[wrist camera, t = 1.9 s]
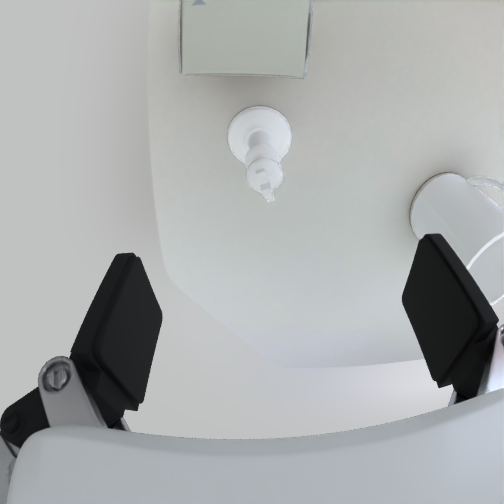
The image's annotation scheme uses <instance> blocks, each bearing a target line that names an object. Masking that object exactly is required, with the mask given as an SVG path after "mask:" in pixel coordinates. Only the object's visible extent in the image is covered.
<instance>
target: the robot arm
mask: <svg viewBox="0 0 504 504" xmlns="http://www.w3.org/2000/svg"><path fill="white" fill-rule="evenodd" d="M402 303H403V306H404V308H405V311H406V313H407V315H408V318H409V320H410V322H411V325H412V327H413V330H414V332H415V335H416V337H417V340H418V342H419V345H420V347H421V350H422V352H423V355H424V358H425V360H426V363H427V366H428V369H429V371H430V374H431V377H432V379H433V380H434V381H436V382H437V385H438V388H441V387H445V386H448V385H451V384H452V385H453V388H454V390H453V393H452V396H451V399H450V402H449V405H448V407H445V408H442V409H438V410H435V411H432V412H428V413H425V414H421V415H418V416H414V417H410V418H407V419H403V420H398V421H394V422H390V423H386V424H381V425H376V426H371V427H366V428H360V429H354V430H349V431H342V432H336V433H328V434H320V435H311V436H301V437H291V438H290V437H289V438H275V439H274V438H273V439H199V438H184V437H172V436H161V435H152V434H144V433H136V432H131V430H130V429H129V427H128V425H127V423H126V421H125V420H124V418H123V415H124V411H125V410H133V411H138V406H139V403H140V404H141V403H142V402H143V401H144V397H145V392H146V387H147V382H148V378H149V374H150V368H151V365H152V360H153V356H154V352H155V348H156V343H157V340H158V335H159V332H160V327H161V324H162V311H161V309H160V306H159V304H158V301H157V299H156V297H155V294H154V292H153V289H152V287H151V285H150V282H149V279H148V277H147V274H146V272H145V269H144V267H143V264H142V261H141V259H140V258H139V257H136V255H135V254H134V253H122V254H117V255H116V256H115V258H114V260H113V261H112V263H111V265H110V267H109V269H108V271H107V273H106V275H105V277H104V279H103V281H102V283H101V285H100V287H99V289H98V291H97V293H96V295H95V297H94V300H93V301H92V303H91V305H90V308H89V310H88V312H87V314H86V316H85V318H84V321H83V323H82V325H81V328H80V330H79V332H78V335H77V337H76V339H75V342H74V344H73V346H72V349H71V355H70V357H69V358H68V357H64V356H57V357H54V358H52V359H50V360H49V361H48V362H46V364H45V365H44V366H43V367H42V369H41V371H40V373H39V377H38V387H37V388H36V389H34V390H33V391H31V392H30V393H28V394H27V395H25V396H24V397H22V398H21V399H19V400H18V401H16V402H15V403H14V404H12V405H10V406H9V407H8V408H7V409H6V410H5V411H4V413H3V415H2V417H1V420H0V429H1V431H0V504H504V324H503V325H501V326H500V327H499V328H498V327H497V325H496V324H497V323H498V321H499V319H498V317H497V316H496V314H495V312H494V310H493V309H492V307H491V305H490V304H489V302H488V300H487V299H486V297H485V296H484V294H483V292H482V291H481V289H480V288H479V286H478V285H477V283H476V282H475V280H474V279H473V277H472V276H471V274H470V273H469V271H468V270H467V268H466V267H465V265H464V264H463V263H462V261H461V260H460V258H459V257H458V256H457V254H456V253H455V251H454V250H453V249H452V247H451V246H450V245H449V243H448V242H447V241H446V239H445V238H444V237H443V236H442V235H441V234H440V233H434V234H425V235H424V236H423V238H422V239H420V240H419V243H418V247H417V250H416V254H415V257H414V260H413V264H412V267H411V270H410V273H409V276H408V279H407V282H406V285H405V288H404V291H403V294H402Z"/></svg>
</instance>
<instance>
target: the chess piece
mask: <svg viewBox="0 0 504 504" xmlns="http://www.w3.org/2000/svg"><path fill="white" fill-rule="evenodd" d="M228 143H229V146H230V149H231V151H232V153H233V154H234V156H235V157H236V158H237V159H238V160H240V161H241V162H243V163H244V164H245V165H246V167H247V170H246V181H247V183H248V185H249V186H250V187H251V188H252V189H253V190H255V191H257V192H261V193H262V195H263V197H264V198H266V201H267V203H269V202H272V201H275V195H274V193H273V191H274V190H275V189H277V188H278V187H279V186H280V184H281V183H282V180H283V170H282V168H281V166H280V160H281V159H282V158H283V157H284V156H285V155H286V153H287V152H288V150H289V148H290V145H291V128H290V125H289V123H288V121H287V120H286V118H285V117H284V116H283V115H282V114H281V113H279V112H278V111H276V110H274V109H272V108H269V107H265V106H255V107H250V108H247V109H245V110H243V111H241V112H240V113H239V114H237V115H236V116H235V117H234V119H233V120H232V122H231V124H230V126H229V129H228Z"/></svg>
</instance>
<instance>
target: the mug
mask: <svg viewBox="0 0 504 504" xmlns="http://www.w3.org/2000/svg"><path fill="white" fill-rule="evenodd" d="M480 184H482V185H489V186H492V187H495V188H497V189H499V190H502V191H504V182H502V181H500V180H498V179H494V178H489V177H484V176H474V177H471V178H469V179H467V180H465V179H464V178H463V177H461V176H460V175H458V174H454V173H443V174H439V175H437V176H434V177H432V178H431V179H430V180H428V181H427V182H426V183H424V185H423V186H422V187H421V188H420V189H419V190H418V192H417V194H416V196H415V197H414V199H413V202H412V205H411V209H410V223H411V228H412V229H413V231H414V233H415V234H416V236H417V238H418V239H419V240H420V239H422V238H423V236H424V235H425V234H434V233H440V234H441V235H442V236H443V237H444V238H445V239H446V241H447V242H448V243H449V245H450V246H451V247H452V249H453V250H454V251H455V253H456V254H457V256H458V257H459V258H460V260H461V261H462V263H463V264H464V265H465V267H466V268H467V270H468V271H469V273H470V274H471V276H472V277H473V279H474V280H475V282H476V283H477V285H478V286H479V288H480V289H481V291H482V292H483V294H484V296H485V297H486V299H487V300H488V302H489V304H490V305H491V306H492V305H494V304H495V303H497V302H498V301H499V300H500V299H502V298H503V297H504V210H503V209H502V208H501V207H500V206H499V205H497V204H496V203H495V202H494V201H493V200H491V199H490V198H489V197H488V196H486V195H485V194H484V193H483V192H481V191H480V190H479V189H477V188H476V187H475V186H476V185H480Z"/></svg>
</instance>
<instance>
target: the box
mask: <svg viewBox="0 0 504 504" xmlns="http://www.w3.org/2000/svg"><path fill="white" fill-rule="evenodd" d="M313 1H314V0H180V4H179V62H180V73H181V75H184V76H259V77H282V78H296V79H304V78H305V76H306V71H307V64H308V55H309V48H310V37H311V28H312V16H313Z"/></svg>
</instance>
